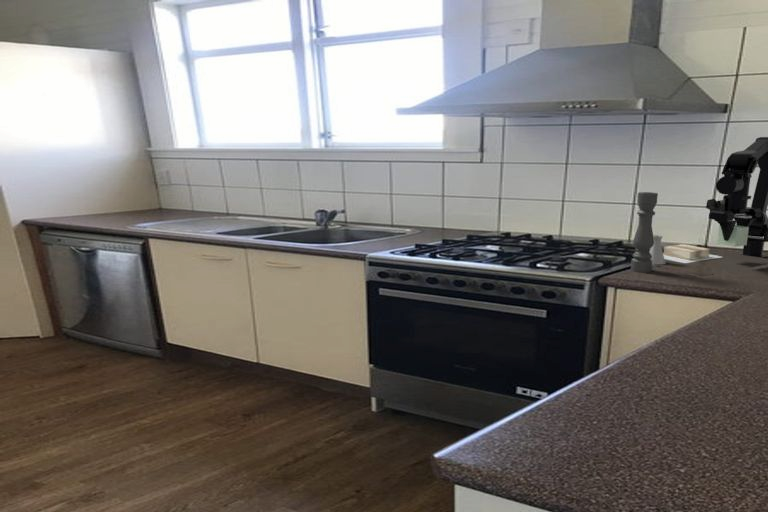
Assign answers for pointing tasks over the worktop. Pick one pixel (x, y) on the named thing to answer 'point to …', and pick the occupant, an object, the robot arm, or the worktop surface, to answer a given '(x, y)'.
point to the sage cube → (734, 236)
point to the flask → (657, 252)
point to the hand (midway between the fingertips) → (732, 239)
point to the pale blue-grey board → (689, 260)
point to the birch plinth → (686, 252)
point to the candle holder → (644, 233)
